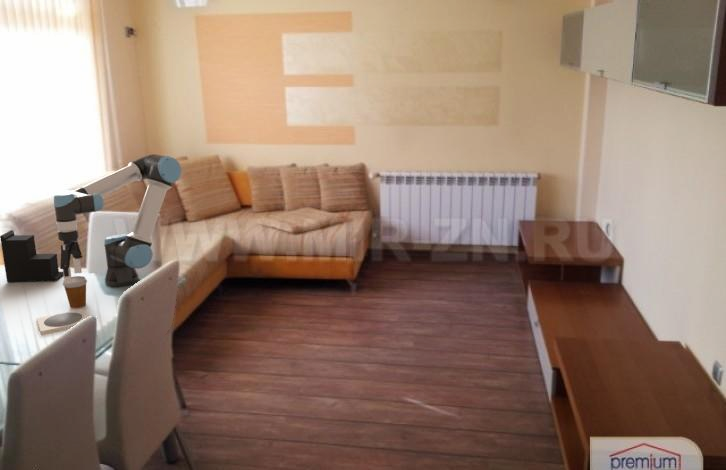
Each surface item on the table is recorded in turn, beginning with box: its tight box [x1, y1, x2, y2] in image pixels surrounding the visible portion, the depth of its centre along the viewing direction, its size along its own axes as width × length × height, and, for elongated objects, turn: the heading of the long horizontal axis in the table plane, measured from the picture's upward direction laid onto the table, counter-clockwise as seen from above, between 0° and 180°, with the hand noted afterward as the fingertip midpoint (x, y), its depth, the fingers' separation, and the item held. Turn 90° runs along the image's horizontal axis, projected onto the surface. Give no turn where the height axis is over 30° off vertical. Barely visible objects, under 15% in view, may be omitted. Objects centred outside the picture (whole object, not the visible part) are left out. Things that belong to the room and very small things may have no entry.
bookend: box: [0, 229, 64, 283], centre depth 290 cm, size 23×11×24 cm, turn 95°
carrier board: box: [35, 308, 89, 335], centre depth 242 cm, size 18×15×2 cm
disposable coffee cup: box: [62, 275, 88, 309], centre depth 258 cm, size 10×10×12 cm
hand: (73, 278), depth 256 cm, fingers open, 13 cm apart
